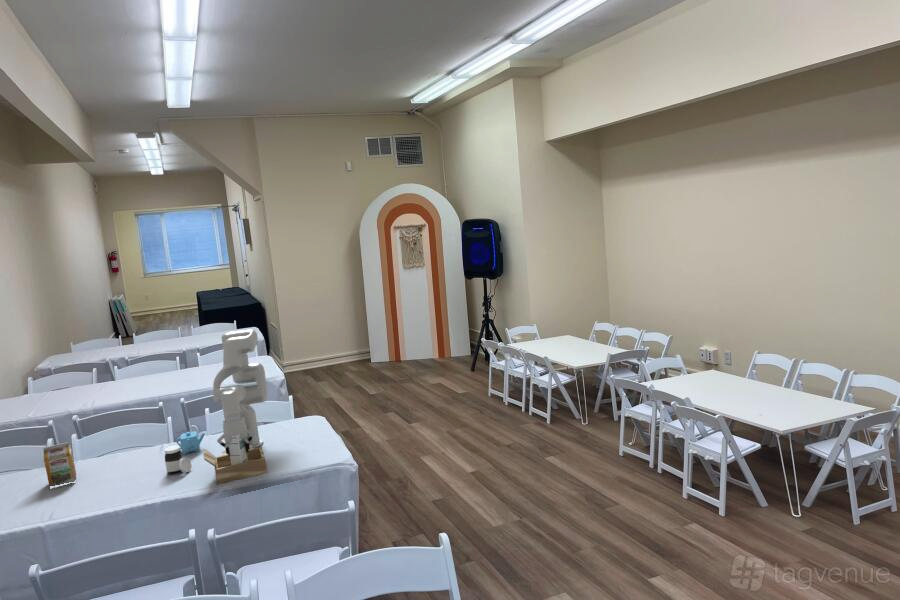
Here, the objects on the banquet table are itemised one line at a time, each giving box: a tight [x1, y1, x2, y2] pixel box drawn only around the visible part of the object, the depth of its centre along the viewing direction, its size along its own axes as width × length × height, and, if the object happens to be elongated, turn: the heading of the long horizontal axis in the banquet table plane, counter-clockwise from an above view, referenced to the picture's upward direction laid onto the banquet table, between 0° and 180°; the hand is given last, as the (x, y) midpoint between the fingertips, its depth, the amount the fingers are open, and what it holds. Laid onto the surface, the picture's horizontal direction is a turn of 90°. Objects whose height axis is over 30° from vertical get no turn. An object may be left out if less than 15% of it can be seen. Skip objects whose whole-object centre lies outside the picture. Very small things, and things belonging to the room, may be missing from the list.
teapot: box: [175, 430, 206, 455], centre depth 336 cm, size 18×14×10 cm
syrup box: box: [228, 435, 248, 465], centre depth 301 cm, size 6×6×14 cm
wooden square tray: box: [214, 445, 268, 485], centre depth 305 cm, size 22×22×7 cm
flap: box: [203, 448, 217, 468], centre depth 297 cm, size 13×7×1 cm
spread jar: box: [164, 444, 193, 475], centre depth 310 cm, size 12×11×12 cm
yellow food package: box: [42, 442, 77, 488], centre depth 309 cm, size 11×10×19 cm
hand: (238, 452), depth 302 cm, fingers closed on syrup box, 7 cm apart
